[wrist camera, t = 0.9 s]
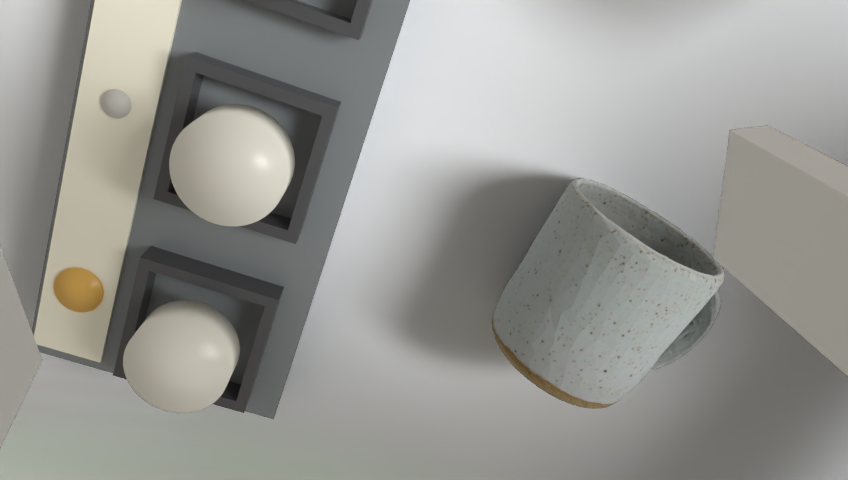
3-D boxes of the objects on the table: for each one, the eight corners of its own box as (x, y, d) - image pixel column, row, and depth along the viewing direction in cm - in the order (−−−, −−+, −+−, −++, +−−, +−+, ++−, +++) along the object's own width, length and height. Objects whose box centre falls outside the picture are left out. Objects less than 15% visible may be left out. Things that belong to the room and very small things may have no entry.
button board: (451, -128, 30) (455, -140, 26) (282, 391, 39) (267, 436, 35) (161, -241, 29) (123, -270, 25) (53, 324, 37) (13, 363, 34)
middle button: (307, 125, 29) (299, 136, 27) (278, 223, 31) (269, 241, 29) (198, 88, 29) (183, 97, 27) (174, 190, 30) (158, 205, 28)
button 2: (250, 317, 32) (240, 339, 30) (226, 399, 34) (215, 424, 32) (151, 287, 32) (134, 307, 30) (131, 371, 33) (113, 396, 31)
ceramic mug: (474, 300, 37) (489, 384, 30) (557, 158, 34) (596, 213, 27) (650, 381, 39) (705, 478, 32) (742, 252, 36) (824, 327, 29)
